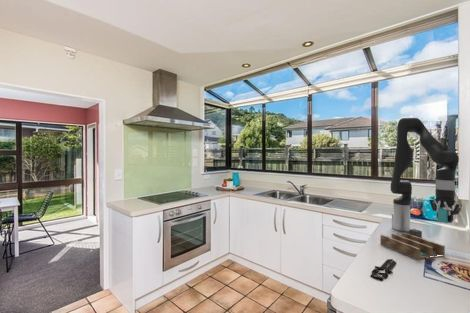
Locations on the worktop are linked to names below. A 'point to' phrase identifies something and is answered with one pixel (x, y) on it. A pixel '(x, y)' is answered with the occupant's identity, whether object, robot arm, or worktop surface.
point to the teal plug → (443, 215)
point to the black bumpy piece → (384, 265)
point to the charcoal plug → (415, 232)
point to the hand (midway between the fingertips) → (444, 220)
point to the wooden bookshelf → (413, 245)
